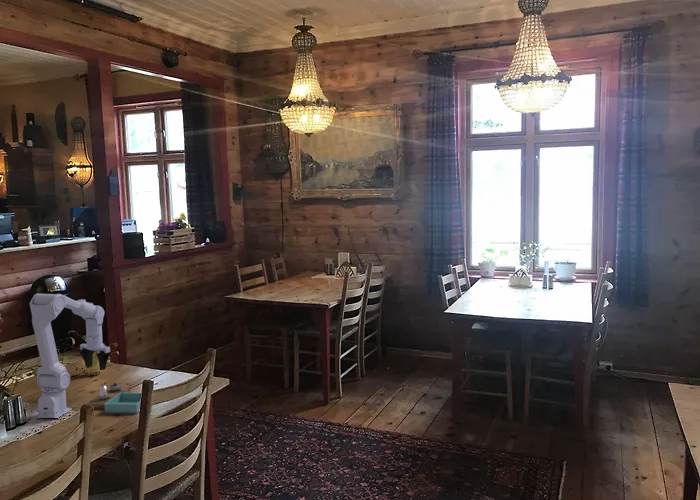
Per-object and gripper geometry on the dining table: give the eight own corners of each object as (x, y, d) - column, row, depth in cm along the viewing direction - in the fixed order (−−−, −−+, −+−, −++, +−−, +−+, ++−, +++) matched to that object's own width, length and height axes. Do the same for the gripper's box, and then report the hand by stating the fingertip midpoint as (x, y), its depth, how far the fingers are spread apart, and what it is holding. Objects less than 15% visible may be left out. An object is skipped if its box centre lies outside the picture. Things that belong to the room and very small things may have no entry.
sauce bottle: (90, 377, 248) (88, 332, 246) (82, 375, 251) (79, 331, 249) (104, 373, 253) (101, 329, 251) (95, 371, 256) (93, 328, 255)
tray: (136, 413, 206) (136, 404, 205) (104, 413, 206) (104, 404, 206) (150, 401, 217) (150, 393, 217) (120, 401, 218) (120, 392, 218)
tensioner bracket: (107, 409, 210) (106, 396, 210) (86, 408, 211) (86, 395, 211) (129, 392, 228) (129, 380, 228) (110, 392, 229) (109, 380, 228)
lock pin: (105, 405, 214) (104, 387, 214) (99, 405, 215) (98, 387, 214) (108, 403, 217) (107, 385, 216) (102, 402, 217) (101, 385, 216)
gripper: (115, 334, 228) (117, 367, 229) (89, 331, 234) (91, 363, 235) (101, 338, 221) (102, 372, 223) (75, 335, 227) (76, 368, 229)
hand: (95, 368), depth 228 cm, fingers open, 7 cm apart
